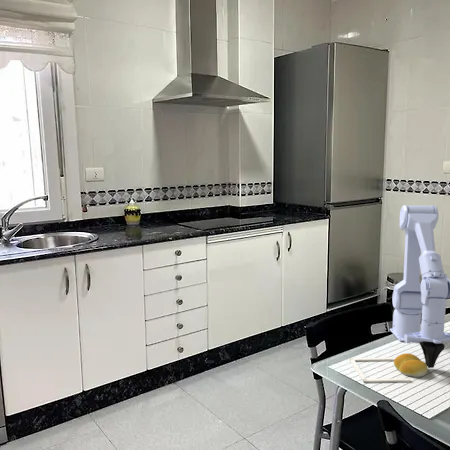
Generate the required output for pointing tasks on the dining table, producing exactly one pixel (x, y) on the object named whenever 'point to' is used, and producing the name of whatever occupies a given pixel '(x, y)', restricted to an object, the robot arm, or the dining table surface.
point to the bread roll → (410, 365)
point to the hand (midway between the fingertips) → (429, 366)
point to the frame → (375, 379)
